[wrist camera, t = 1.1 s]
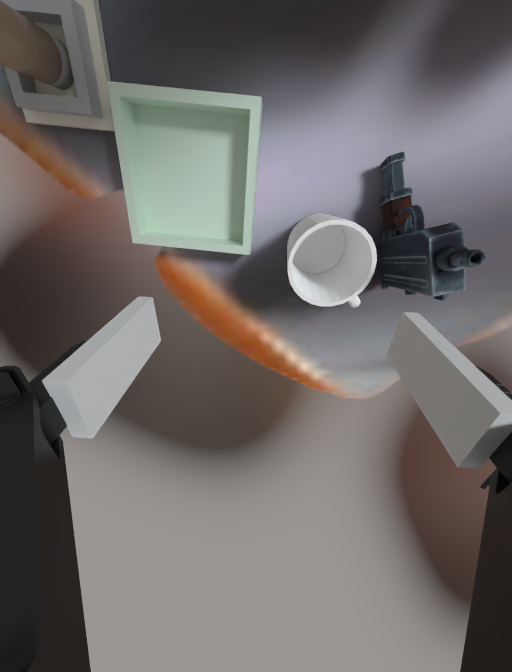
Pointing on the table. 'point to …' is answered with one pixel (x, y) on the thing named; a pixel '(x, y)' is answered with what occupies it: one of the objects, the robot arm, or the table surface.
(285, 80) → the table surface
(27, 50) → the fuse
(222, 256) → the table surface
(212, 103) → the parts tray
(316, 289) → the mug
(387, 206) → the gun
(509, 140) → the table surface
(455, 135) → the table surface
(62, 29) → the panel
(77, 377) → the robot arm
